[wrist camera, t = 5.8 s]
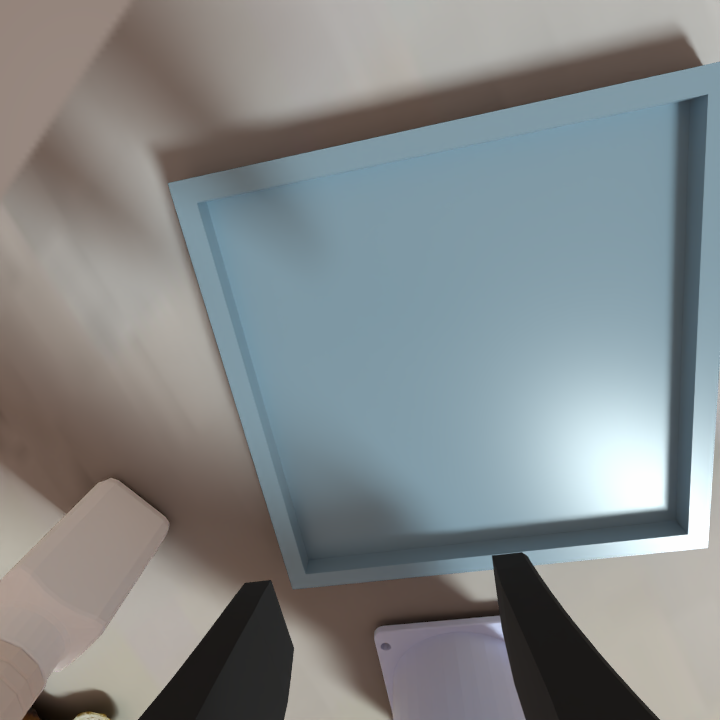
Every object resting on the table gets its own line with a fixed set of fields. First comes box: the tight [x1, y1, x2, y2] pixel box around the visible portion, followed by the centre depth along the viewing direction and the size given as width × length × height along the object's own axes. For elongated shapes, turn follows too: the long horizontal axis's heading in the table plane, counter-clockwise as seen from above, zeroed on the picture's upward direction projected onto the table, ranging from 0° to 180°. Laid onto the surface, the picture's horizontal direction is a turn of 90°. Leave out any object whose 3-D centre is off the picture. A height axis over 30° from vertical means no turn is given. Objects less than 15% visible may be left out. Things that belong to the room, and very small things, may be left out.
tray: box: [168, 62, 720, 589], centre depth 18 cm, size 18×18×2 cm
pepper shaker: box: [0, 478, 170, 720], centre depth 18 cm, size 4×4×10 cm
